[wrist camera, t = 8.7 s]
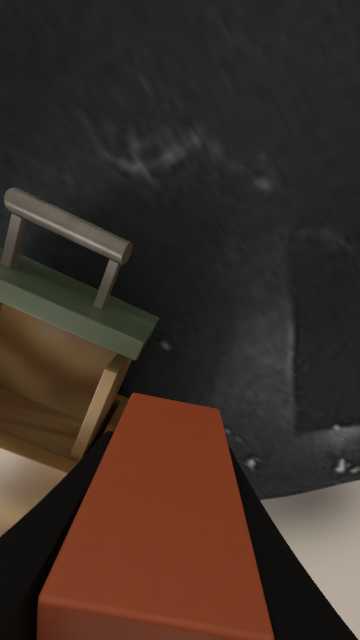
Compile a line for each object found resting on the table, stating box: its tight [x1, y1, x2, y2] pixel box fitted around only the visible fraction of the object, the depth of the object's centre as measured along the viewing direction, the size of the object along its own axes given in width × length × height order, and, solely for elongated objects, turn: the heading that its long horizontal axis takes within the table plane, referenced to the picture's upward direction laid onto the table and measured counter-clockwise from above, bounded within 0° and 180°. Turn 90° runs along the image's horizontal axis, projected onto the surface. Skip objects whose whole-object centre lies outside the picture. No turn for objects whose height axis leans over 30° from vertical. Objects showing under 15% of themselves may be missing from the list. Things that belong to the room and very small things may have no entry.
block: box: [36, 393, 274, 640], centre depth 7 cm, size 4×4×6 cm
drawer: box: [0, 188, 159, 462], centre depth 14 cm, size 17×13×6 cm
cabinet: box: [0, 394, 129, 537], centre depth 17 cm, size 14×15×8 cm
